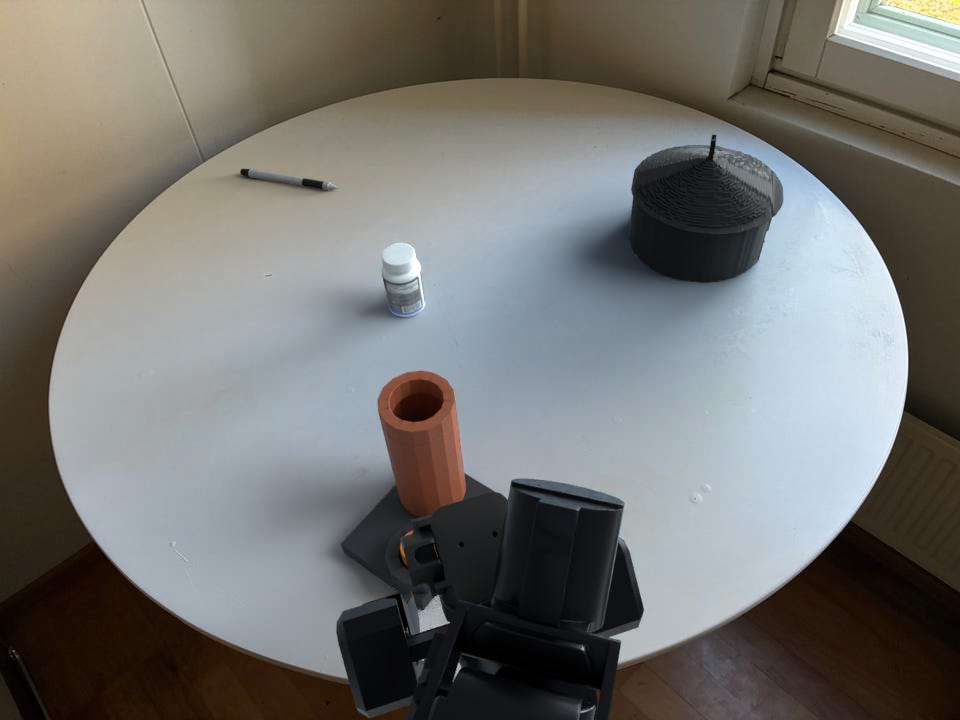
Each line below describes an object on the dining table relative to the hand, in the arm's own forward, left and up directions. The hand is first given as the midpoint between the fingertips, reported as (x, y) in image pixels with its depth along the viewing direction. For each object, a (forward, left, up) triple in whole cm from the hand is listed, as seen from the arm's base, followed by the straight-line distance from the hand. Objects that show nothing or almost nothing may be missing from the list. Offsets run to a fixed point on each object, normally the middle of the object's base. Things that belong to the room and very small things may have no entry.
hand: (471, 579), depth 56 cm
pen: (+40, +65, -14) cm, 78 cm away
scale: (+6, +11, -14) cm, 19 cm away
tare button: (+3, +9, -10) cm, 14 cm away
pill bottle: (+29, +33, -14) cm, 47 cm away
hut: (+60, +9, -14) cm, 63 cm away
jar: (+10, +13, -12) cm, 20 cm away
